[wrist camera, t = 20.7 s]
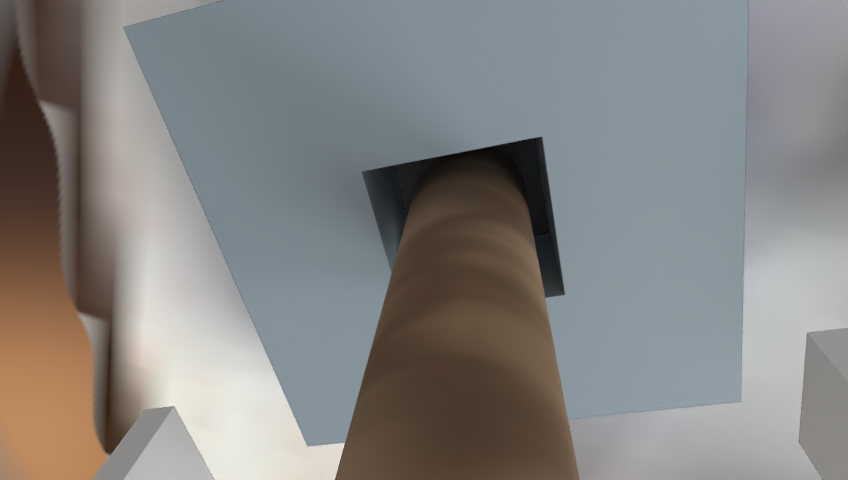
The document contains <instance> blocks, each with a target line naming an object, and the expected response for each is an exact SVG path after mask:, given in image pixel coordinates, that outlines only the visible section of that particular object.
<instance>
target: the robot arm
mask: <svg viewBox="0 0 848 480" xmlns="http://www.w3.org/2000/svg"><path fill="white" fill-rule="evenodd" d="M799 443H800V445H801V446H802V448H803V449H804V451H805V452H806V454H807V456H808V457H809V459H810V460H811V462H812V463H813V465H814V467H815V468H816V470H817V471H818V473H819V474H820V476H821V478H822V479H823V480H848V328H844V329H835V330H827V331H818V332H809V333H807V340H806V353H805V366H804V379H803V392H802V406H801V419H800V432H799ZM92 480H215V479H214V477H213V476H212V474H211V472H210V470H209V468H208V467H207V465H206V463H205V461H204V459H203V457H202V456H201V454H200V452H199V450H198V448H197V447H196V445H195V443H194V441H193V439H192V437H191V436H190V434H189V432H188V430H187V428H186V427H185V425H184V423H183V421H182V419H181V418H180V416H179V414H178V412H177V410H176V408H175V407H174V406H171V407H163V408H154V409H146V410H144V411H143V413H142V414H141V415H140V417H139V418H138V419H137V421H136V422H135V423H134V425H133V426H132V427H131V429H130V430H129V431H128V433H127V434H126V435H125V437H124V438H123V439H122V441H121V442H120V443H119V445H118V446H117V447H116V449H115V450H114V451H113V453H112V454H111V455H110V457H109V458H108V459H107V461H106V462H105V463H104V465H103V466H102V468H101V469H100V470H99V471H98V473H97V474H96V475H95V477H94V478H93V479H92Z"/></svg>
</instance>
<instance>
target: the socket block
mask: <svg viewBox="0 0 848 480" xmlns="http://www.w3.org/2000/svg"><path fill="white" fill-rule="evenodd" d="M748 4H749V0H224V1H220V2H216V3H212V4H209V5H205V6H201V7H197V8H194V9H190V10H186V11H182V12H179V13H175V14H171V15H167V16H163V17H160V18H156V19H152V20H148V21H145V22H141V23H137V24H133V25H130V26H126V27H123V28H124V30H125V33H126V35H127V37H128V40H129V42H130V44H131V46H132V49H133V51H134V53H135V55H136V58H137V60H138V62H139V65H140V67H141V69H142V71H143V74H144V76H145V78H146V80H147V83H148V85H149V87H150V90H151V92H152V94H153V96H154V99H155V101H156V103H157V105H158V108H159V110H160V112H161V115H162V117H163V119H164V121H165V124H166V126H167V128H168V130H169V133H170V135H171V137H172V140H173V142H174V144H175V146H176V149H177V151H178V153H179V155H180V158H181V160H182V162H183V165H184V167H185V169H186V171H187V174H188V176H189V178H190V180H191V183H192V185H193V187H194V190H195V192H196V194H197V196H198V199H199V201H200V203H201V205H202V208H203V210H204V212H205V215H206V217H207V219H208V221H209V224H210V226H211V228H212V230H213V233H214V235H215V237H216V240H217V242H218V244H219V246H220V249H221V251H222V253H223V255H224V258H225V260H226V262H227V265H228V267H229V269H230V271H231V274H232V276H233V278H234V280H235V283H236V285H237V287H238V290H239V292H240V294H241V296H242V299H243V301H244V303H245V305H246V308H247V310H248V312H249V315H250V317H251V319H252V321H253V324H254V326H255V328H256V330H257V333H258V335H259V337H260V339H261V342H262V344H263V346H264V349H265V351H266V353H267V355H268V358H269V360H270V362H271V364H272V367H273V369H274V371H275V374H276V376H277V378H278V380H279V383H280V385H281V387H282V389H283V392H284V394H285V396H286V399H287V401H288V403H289V405H290V408H291V410H292V412H293V414H294V417H295V419H296V421H297V424H298V426H299V428H300V430H301V433H302V435H303V437H304V439H305V442H306V444H307V446H316V445H326V444H336V443H345V442H346V438H347V434H348V431H349V427H350V423H351V420H352V416H353V412H354V409H355V405H356V401H357V398H358V394H359V391H360V387H361V383H362V380H363V376H364V372H365V369H366V365H367V361H368V358H369V354H370V350H371V347H372V343H373V339H374V336H375V332H376V328H377V325H378V321H379V318H380V314H381V310H382V307H383V303H384V299H385V296H386V292H387V288H388V285H389V281H390V277H391V274H392V270H393V266H394V263H395V259H396V256H397V252H398V248H399V245H400V241H401V237H402V234H403V230H404V226H405V223H406V219H407V213H406V209H405V205H404V202H403V198H402V194H401V190H400V187H399V183H398V179H397V176H396V172H395V168H394V165H398V164H403V163H408V162H413V161H419V160H424V159H429V158H434V157H439V156H444V155H449V154H454V153H460V152H465V151H470V150H475V149H480V148H485V147H490V146H495V145H501V144H506V143H511V142H516V141H521V140H526V139H531V138H536V143H537V150H538V157H539V164H540V170H541V177H542V184H543V190H544V197H545V204H546V211H547V217H548V224H549V231H550V233H548V234H542V235H536V236H534V241H535V246H536V252H537V257H538V262H539V267H540V273H541V278H542V283H543V289H544V294H545V299H546V305H547V310H548V315H549V321H550V326H551V331H552V337H553V342H554V347H555V353H556V358H557V363H558V369H559V374H560V379H561V385H562V390H563V395H564V401H565V406H566V411H567V417H568V419H577V418H587V417H596V416H606V415H616V414H625V413H635V412H645V411H654V410H664V409H674V408H683V407H693V406H703V405H712V404H722V403H732V402H741V374H742V321H743V268H744V216H745V163H746V110H747V57H748Z"/></svg>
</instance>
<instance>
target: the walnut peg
mask: <svg viewBox="0 0 848 480" xmlns="http://www.w3.org/2000/svg"><path fill="white" fill-rule="evenodd" d="M335 480H579V475H578V470H577V465H576V459H575V454H574V449H573V443H572V438H571V433H570V427H569V422H568V417H567V411H566V406H565V401H564V395H563V390H562V385H561V379H560V374H559V369H558V363H557V358H556V353H555V347H554V342H553V337H552V331H551V326H550V321H549V315H548V310H547V305H546V299H545V294H544V289H543V283H542V278H541V273H540V267H539V262H538V257H537V252H536V246H535V241H534V236H533V230H532V225H531V220H530V214H529V209H528V204H527V198H526V193H525V188H524V182H523V177H522V172H521V168H520V165H519V162H518V160H517V158H516V156H515V155H514V153H513V152H512V151H511V149H510V148H509V147H508V146H507V145H505V144H501V145H495V146H490V147H485V148H480V149H475V150H470V151H465V152H460V153H454V154H449V155H444V156H439V157H434V158H429V159H424V160H423V163H422V165H421V168H420V172H419V175H418V179H417V183H416V186H415V190H414V194H413V197H412V201H411V204H410V208H409V212H408V215H407V219H406V223H405V226H404V230H403V234H402V237H401V241H400V245H399V248H398V252H397V256H396V259H395V263H394V266H393V270H392V274H391V277H390V281H389V285H388V288H387V292H386V296H385V299H384V303H383V307H382V310H381V314H380V318H379V321H378V325H377V328H376V332H375V336H374V339H373V343H372V347H371V350H370V354H369V358H368V361H367V365H366V369H365V372H364V376H363V380H362V383H361V387H360V391H359V394H358V398H357V401H356V405H355V409H354V412H353V416H352V420H351V423H350V427H349V431H348V434H347V438H346V442H345V445H344V449H343V453H342V456H341V460H340V463H339V467H338V471H337V474H336V478H335Z"/></svg>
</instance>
